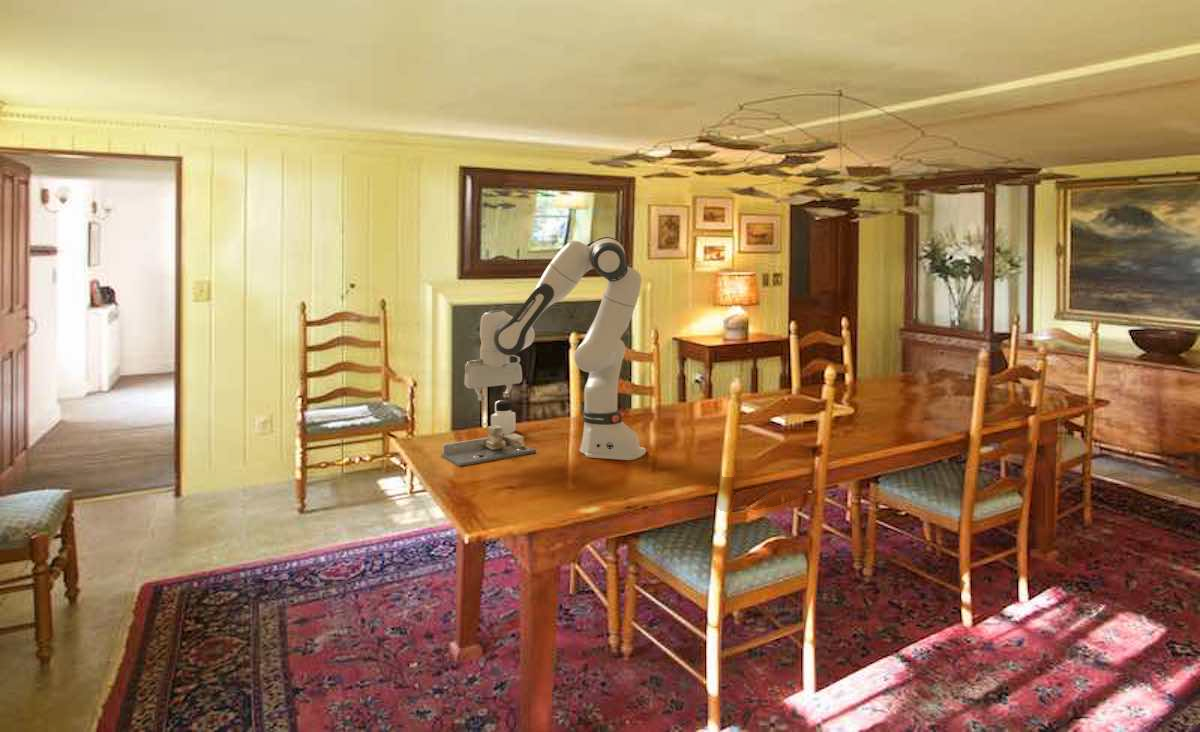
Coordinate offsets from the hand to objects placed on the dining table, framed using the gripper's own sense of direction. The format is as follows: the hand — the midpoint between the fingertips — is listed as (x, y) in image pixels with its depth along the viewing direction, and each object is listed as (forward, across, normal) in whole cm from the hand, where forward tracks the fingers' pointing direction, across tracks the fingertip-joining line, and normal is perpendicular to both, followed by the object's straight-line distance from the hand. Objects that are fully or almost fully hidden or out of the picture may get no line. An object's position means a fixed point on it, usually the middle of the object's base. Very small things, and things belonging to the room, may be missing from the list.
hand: (493, 398), depth 252 cm
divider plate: (+18, -4, -3) cm, 19 cm away
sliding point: (+17, 0, -3) cm, 17 cm away
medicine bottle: (+18, +15, +21) cm, 31 cm away
